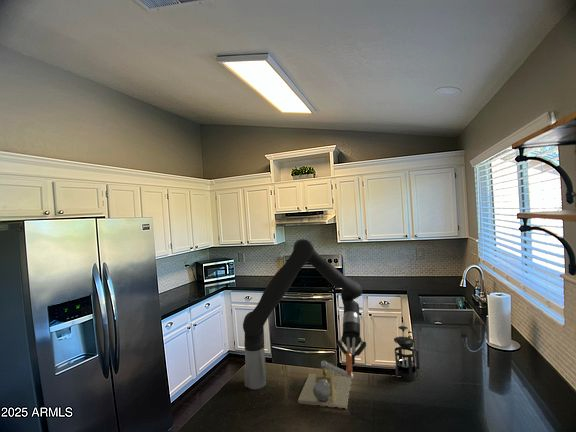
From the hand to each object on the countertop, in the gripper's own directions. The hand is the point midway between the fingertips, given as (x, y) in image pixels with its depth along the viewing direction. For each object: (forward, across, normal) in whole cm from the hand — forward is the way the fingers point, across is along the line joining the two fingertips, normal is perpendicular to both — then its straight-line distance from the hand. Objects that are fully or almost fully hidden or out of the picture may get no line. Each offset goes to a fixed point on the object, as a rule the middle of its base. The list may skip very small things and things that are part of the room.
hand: (351, 365), depth 123 cm
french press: (-7, +23, +30) cm, 39 cm away
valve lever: (+1, -6, +4) cm, 8 cm away
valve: (+6, -12, +16) cm, 21 cm away
